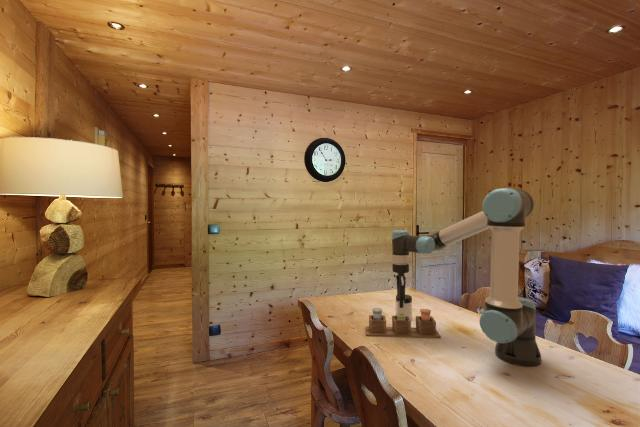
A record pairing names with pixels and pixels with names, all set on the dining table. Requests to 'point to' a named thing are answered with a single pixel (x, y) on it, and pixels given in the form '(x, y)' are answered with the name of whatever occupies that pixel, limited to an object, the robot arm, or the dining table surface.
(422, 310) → the terracotta plunger
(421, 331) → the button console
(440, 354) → the dining table surface
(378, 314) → the pale grey canister
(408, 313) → the jar
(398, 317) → the sage plunger
